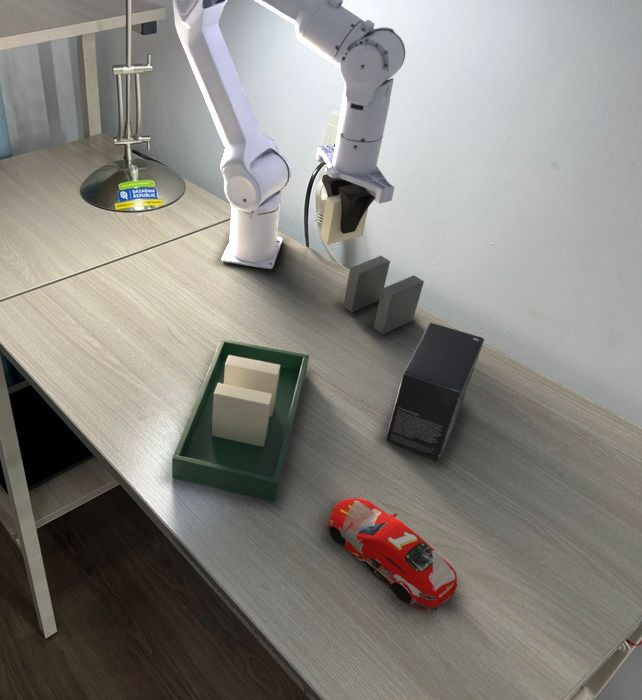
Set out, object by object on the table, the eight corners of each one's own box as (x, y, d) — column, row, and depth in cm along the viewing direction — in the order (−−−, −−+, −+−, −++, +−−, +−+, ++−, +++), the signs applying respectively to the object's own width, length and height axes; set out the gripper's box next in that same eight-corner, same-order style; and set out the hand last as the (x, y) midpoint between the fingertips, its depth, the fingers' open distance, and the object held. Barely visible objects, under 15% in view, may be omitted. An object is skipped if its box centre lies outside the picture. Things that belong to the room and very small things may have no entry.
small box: (408, 386, 86) (428, 318, 79) (462, 405, 83) (487, 337, 76) (381, 440, 78) (401, 370, 72) (439, 463, 76) (465, 392, 69)
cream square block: (320, 238, 98) (326, 197, 94) (355, 230, 100) (363, 189, 96) (327, 244, 97) (334, 202, 93) (362, 236, 99) (371, 194, 95)
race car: (315, 526, 69) (320, 500, 67) (352, 500, 72) (359, 475, 69) (423, 625, 61) (433, 600, 59) (460, 592, 64) (472, 567, 61)
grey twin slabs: (342, 306, 99) (349, 267, 95) (372, 293, 101) (381, 255, 97) (382, 334, 94) (392, 294, 90) (413, 320, 96) (424, 281, 92)
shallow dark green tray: (219, 357, 90) (221, 338, 88) (306, 373, 87) (309, 354, 85) (171, 478, 74) (172, 458, 72) (275, 502, 72) (278, 483, 70)
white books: (225, 396, 83) (228, 354, 79) (275, 406, 82) (280, 364, 78) (211, 435, 78) (213, 393, 74) (263, 447, 77) (269, 404, 73)
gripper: (303, 118, 93) (291, 210, 101) (368, 160, 82) (349, 258, 91) (346, 111, 95) (332, 201, 103) (415, 150, 85) (393, 247, 93)
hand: (343, 227), depth 97 cm, fingers closed on cream square block, 2 cm apart
